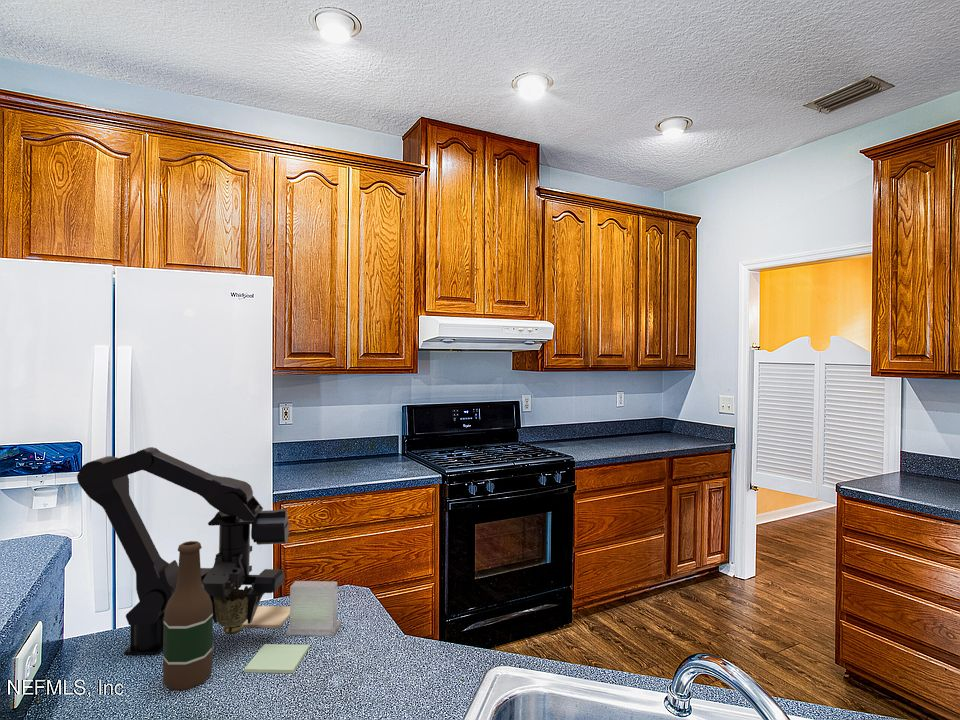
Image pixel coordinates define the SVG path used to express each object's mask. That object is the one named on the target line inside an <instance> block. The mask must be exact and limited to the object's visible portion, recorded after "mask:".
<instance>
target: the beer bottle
mask: <svg viewBox="0 0 960 720" xmlns="http://www.w3.org/2000/svg"><path fill="white" fill-rule="evenodd" d="M201 549H203V548H202V545H201V542H199V541H198V540H197V541H196V540H190V541H185V542H183V543H181V544H179V545H178V548H177V552H179V555H178V557H179V558H178V577H177V585H176V589H175V592H174V593H173V595H172V596H171V597H170V599H169V600H168V603H167V605H166V608H165V612H164V627H163V649H162V682H163V683H164V685H165V686H166V687H167V689H168V690H169V691H187V690H189V689H192V688H194V687H197V686H200V685H202V684H204V683H205V682H206V680H207V679H208V678H209V677H210V676H211V674H212V669H213V643H214V642H213V637H214V634H213V632H214V629H213V627H214V625H213V624H214V623H213V622H214V620H213V606H212V601H211V599H210V596H209V594H208V593H207V592H206V590H205V589H204V588H203V586H202V580H201V568H202V567H201Z"/></svg>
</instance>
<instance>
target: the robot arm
mask: <svg viewBox="0 0 960 720" xmlns="http://www.w3.org/2000/svg"><path fill="white" fill-rule="evenodd" d="M140 471H144V472H147V473H149V474H152V475H154V476H155V477H159V478H161V479H163V480H166V481H167V482H169V483H172V484H174V485H177V486H179V487H181V488H183V489H186V490H189V491H191V492H192V493H195V494H197V495H199V496H200V497H202V498H203V499H204V500H205V501H206V502H207V504H209V505H210V506H211V507H213V508H214V509H216V510H217V512H216V513H215V515H214V517H213V518H212V519H211V520H210V521H208V522H207V525H208V526H209V527H210V526H219V529H218V531H219V533H218V534H219V535H218V544H219V545H218V552H217V553H216V554H215V557H214V562H213V566H212V567H201V580H202V586H203V588H204V589H205V590H206V592H207V593H208V594H209V596H210V599H211V601H212V606H213V622H214V623H215V624H217V623H218V621H217V619H216V615H215V607H214V598H213V596H220V597H225V596H228V595H229V594H230V593H231V591H232V589H234V588H239V589H241V587H242V586H251V587H252V590H251V591H250V592H249V593H248V594H247V597H248V599H249V602H248V615H247V619H248V624H250V623H251V622H252V620H253V617H254V615H255V612H256V610H257V607H258V606H260V605H259V604H260V602H261V599H262V598H263V596H264V595H265V594H272V593H275V592H276V591H277V590H279V588H280V587H281V586H282V585H283V584H284V583H285V573H284V571H283V570H282V569H281V568H277V569H276V568H270V569H268V568H264V569H263V570H262V571H261V572H260V573H259V574H250V573H251V572H252V571H253V565H250V557H251V556H250V554H251V553H252V552H253V545H251V542H250V541H251V540H252V541H253V543H256V545H259V546H260V545H278V544H279V545H282V544H283V545H284V544H288V540H289V536H290V535H289V534H290V522H289V516H288V509H286V508H282V509H276V510H275V509H273V510H270V509H269V510H264V507H263V506H262V505H261V504H260V502H259V501H258V500H257V498H256V497H255V496H254V491H253V489H252V486H251V485H250V484H249V482H246V481H244V480H239V479H238V478H237V479H236V478H234V477H227V476H222V475H221V476H219V475H216V474H215V475H214V474H212V473H210V472H206V471H205V470H203V469H200V468H198V467H195V466H194V465H192V464H189V463H187V462H184V461H182V460H180V459H178V458H176V457H173V456H171V455H169V454H167V453H165V452H163V451H160V450H159V449H158V448H157V447H153V446H152V447H145V448H143V449H141V450H137V451H136V452H134V453H131V454H128V455H124V456H121V457H117V456H111V455H110V456H109V455H107V456H103V457H101V458H97V459H94V460H91V461H89V462H87V463H85V464H84V465H82V466H81V467H80V469H79V471H78V473H77V475H76V479H77V480H76V481H77V483H78V485H79V487H80V488H81V489H82V490H83V491H84V492H85V494H86V495H87V496H88V498H89V499H91V500H92V501H94V502H95V503H96V504H98V505H99V506H101V507H102V509H103V510H104V513H105V514H106V516H107V519H108V520H109V522H110V525H111V526H112V528H113V530H114V532H115V534H116V535H117V538H118V539H119V542H120V544H121V546H122V549H123V550H124V552H125V553H126V554H125V555H127V557H128V559H129V561H130V564H131V565H132V568H133V569H134V572H135V591H136V594H137V597H138V600H139V601H138V602H137V604H135V605H134V606H133V607H132V608H131V609H130V610H128V612H127V613H126V614H125V618H126V620H127V623H128V625H129V627H130V629H129V631H130V634H129V635H130V637H129V641H130V642H129V647H128V648H126V649H124V654H126V655H132V654H133V655H157V654H159V653H160V652H161V651H163V627H164V612H165V608H166V605H167V603H168V600H169V599H170V597H171V596H172V595H173V593H174V592H175V589H176V585H177V577H178V565H179V563H178V562H177V561H176V560H175V559H173V560H172V561H171V562H170V563H169V562H167V561H166V560H165V559H163V558H162V557H161V555H160V553H159V552H158V549H157V547H156V545H155V543H154V542H153V539H152V538H151V535H150V533H149V531H148V529H147V528H146V526H145V523H144V521H143V520H142V517H141V515H140V513H139V512H138V510H137V508H136V505H135V503H134V502H133V500H132V497H131V495H130V478H129V475H132V474H135V473H138V472H140ZM250 538H251V539H250ZM214 623H213V624H214Z"/></svg>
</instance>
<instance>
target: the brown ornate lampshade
mask: <svg viewBox="0 0 960 720" xmlns="http://www.w3.org/2000/svg"><path fill="white" fill-rule="evenodd" d="M251 590H252V586H250V587H248V585H244V589H242V588H234V589H232V591H231V593H230V594H229V595H228V596H225V597H220V596H213V598H214V607H215V615H216V619H217V621H218V622H217V623H218V624H219V625H220V626H222V627H223V629H222V631H223V633H224V634H226V635H228V636H230V635H236V634H238V633H240V632H241V631H242V630H243V628H244V627H243V623H244V622H245V621H246V620H247V615H248V602H249V599H248V597H247V594H248V593H249V592H250V591H251Z"/></svg>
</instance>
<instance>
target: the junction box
mask: <svg viewBox="0 0 960 720" xmlns="http://www.w3.org/2000/svg"><path fill="white" fill-rule="evenodd" d="M289 588H290V589H289V592H290V593H289V607H290V616H289V627H288V629H287V630H286V631H285V632H286V636H316V637H317V636H318V637H321V636H322V637H323V636H326V637H330V636H331V637H334V636H336V634H337V632H338V630H339V629H340V627H341V626H342V620H338V581H332V580H331V581H325V580H323V581H320V580H319V581H318V580H295V581H294V582H293V583H292V584H291V585H290V587H289Z"/></svg>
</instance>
